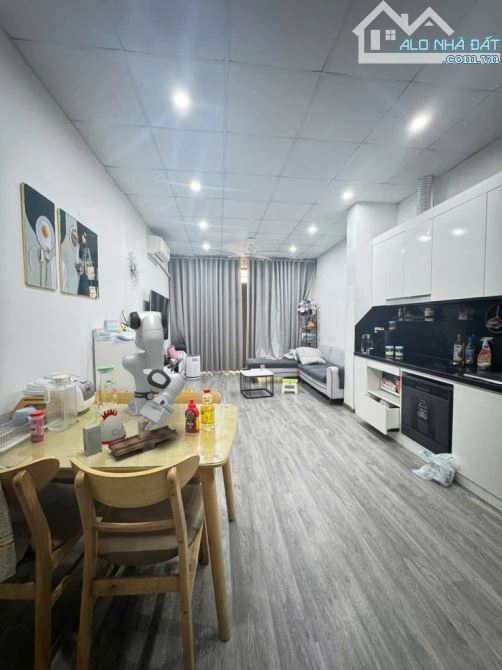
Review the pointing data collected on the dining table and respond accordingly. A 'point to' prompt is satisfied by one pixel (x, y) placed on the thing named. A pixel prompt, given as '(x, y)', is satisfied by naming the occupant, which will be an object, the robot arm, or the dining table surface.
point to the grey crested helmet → (111, 428)
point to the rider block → (141, 432)
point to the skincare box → (92, 439)
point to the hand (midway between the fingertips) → (142, 428)
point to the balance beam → (141, 441)
